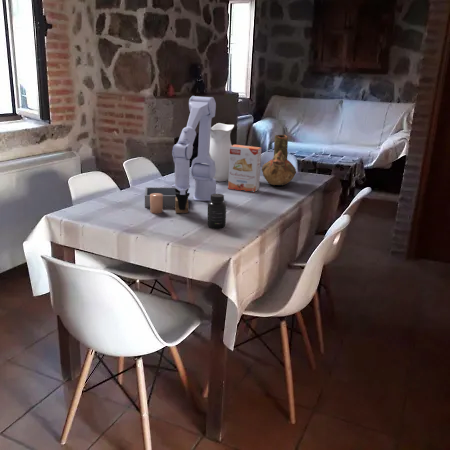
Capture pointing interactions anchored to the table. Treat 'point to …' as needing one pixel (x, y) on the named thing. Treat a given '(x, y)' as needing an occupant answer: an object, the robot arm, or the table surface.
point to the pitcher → (220, 150)
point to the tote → (167, 196)
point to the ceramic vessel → (279, 164)
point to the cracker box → (244, 168)
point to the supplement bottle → (216, 212)
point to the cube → (178, 207)
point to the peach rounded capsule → (156, 203)
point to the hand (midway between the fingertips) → (181, 207)
